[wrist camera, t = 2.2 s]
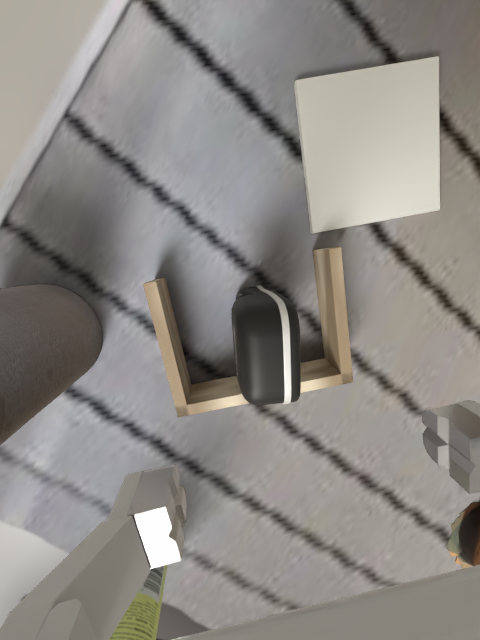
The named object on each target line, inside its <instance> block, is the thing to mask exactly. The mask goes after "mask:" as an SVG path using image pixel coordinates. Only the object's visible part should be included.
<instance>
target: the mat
mask: <svg viewBox="0 0 480 640" xmlns="http://www.w3.org/2000/svg"><path fill="white" fill-rule="evenodd" d="M294 90H295V99H296V108H297V117H298V126H299V134H300V143H301V152H302V161H303V170H304V179H305V187H306V196H307V205H308V214H309V223H310V232H311V234H313V233H318V232H323V231H329V230H334V229H340V228H345V227H351V226H356V225H362V224H367V223H372V222H378V221H383V220H389V219H394V218H400V217H405V216H411V215H416V214H421V213H427V212H432V211H437V210H440V154H439V56H437V57H431V58H425V59H419V60H413V61H407V62H401V63H395V64H389V65H383V66H377V67H371V68H365V69H359V70H353V71H347V72H341V73H335V74H329V75H323V76H317V77H311V78H305V79H299V80H296V81H295V83H294Z"/></svg>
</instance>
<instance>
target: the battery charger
mask: <svg viewBox="0 0 480 640" xmlns="http://www.w3.org/2000/svg"><path fill="white" fill-rule="evenodd" d="M232 329H233V341H234V355H235V367H236V373H237V378H238V383H239V387H240V390H241V393H242V395H243V397H244V399H245V400H246V401H248V402H249V403H251V404H254V405H267V404H277V403H281V404H289V403H290V402H295V401H297V400H298V399H299V397H300V392H301V366H300V329H299V319H298V314H297V310H296V308H295V306H294V305H293V304H292V302H291V301H290V300H288V299H287V298H286V297H284V296H283V295H281V294H279V293H277V292H274V291H271V290H270V289H269V288H268V287H266V286H261V285H260V286H256V287H249V288H246V289H243V290H241V291H240V292H239V293H238V294H237V296H236V301H235V302H234V305H233V307H232Z"/></svg>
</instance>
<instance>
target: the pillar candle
mask: <svg viewBox="0 0 480 640" xmlns="http://www.w3.org/2000/svg"><path fill="white" fill-rule="evenodd" d="M102 340H103V339H102V330H101V326H100V323H99V320H98V318H97V316H96V314H95V313H94V311H93V310H92V308H91V307H90V306H89V305H88V303H87V302H85V301H84V300H83V299H82V298H81V297H80V296H78V295H77V294H75V293H74V292H72V291H70V290H68V289H65V288H63V287H60V286H56V285H49V284H34V285H25V286H16V287H10V288H0V445H1V444H2V443H3V442H5V441H6V440H7V439H8V438H9V437H10V436H11V435H13V434H14V433H15V432H16V431H17V430H18V429H20V428H21V427H22V426H23V425H24V424H25V423H27V422H28V421H29V420H30V419H31V418H33V417H34V416H35V415H36V414H37V413H38V412H40V411H41V410H42V409H43V408H45V407H46V406H47V405H48V404H50V403H51V402H52V401H53V400H54V399H55V398H57V397H58V396H59V395H60V394H61V393H62V392H64V391H65V390H66V389H67V388H68V387H69V386H71V385H72V384H73V383H74V382H75V381H76V380H78V379H79V378H80V377H81V376H82V375H84V374H85V373H86V372H87V371H88V370H89V369H90V368H91V367H92V366H93V365H94V363H95V362H96V360H97V358H98V356H99V354H100V351H101V347H102Z"/></svg>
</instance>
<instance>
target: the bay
mask: <svg viewBox="0 0 480 640" xmlns="http://www.w3.org/2000/svg"><path fill="white" fill-rule="evenodd" d="M313 258H314V267H315V276H316V285H317V294H318V302H319V311H320V320H321V329H322V338H323V347H324V356H325V358H323V359H318V360H313V361H308V362H303V363H300V366H301V392H300V393H302V392H307V391H312V390H317V389H322V388H326V387H331V386H336V385H341V384H346V383H351V382H353V376H352V365H351V354H350V342H349V331H348V320H347V309H346V298H345V286H344V275H343V264H342V253H341V247H335V248H322V249H317V250H313ZM143 285H144V289H145V293H146V297H147V300H148V304H149V308H150V312H151V316H152V319H153V323H154V327H155V331H156V335H157V339H158V342H159V346H160V350H161V354H162V358H163V361H164V365H165V369H166V373H167V377H168V381H169V384H170V388H171V392H172V396H173V400H174V403H175V407H176V411H177V415H178V417H182V416H187V415H192V414H197V413H202V412H207V411H212V410H217V409H222V408H227V407H232V406H237V405H242V404H247V403H249V402H248V401H246V400H245V399H244V397H243V395H242V393H241V390H240V387H239V383H238V378H237V376H232V377H227V378H222V379H217V380H212V381H207V382H202V383H197V384H192V385H191V382H190V377H189V373H188V369H187V365H186V361H185V357H184V353H183V348H182V344H181V340H180V336H179V332H178V328H177V324H176V319H175V315H174V311H173V307H172V303H171V299H170V295H169V290H168V286H167V282H166V278H160V279H155V280H152V281H149V282H147V283H144V284H143Z"/></svg>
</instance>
